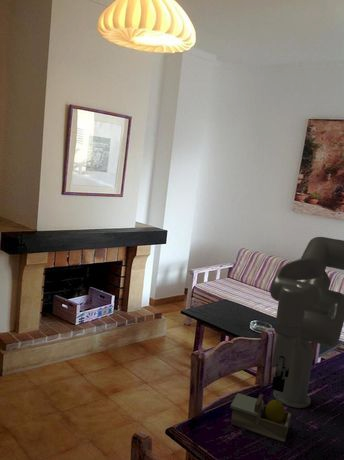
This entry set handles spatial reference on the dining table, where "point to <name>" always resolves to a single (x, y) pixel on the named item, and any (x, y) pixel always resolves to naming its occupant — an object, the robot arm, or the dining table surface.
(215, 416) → the dining table surface
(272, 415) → the lemon
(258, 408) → the cover
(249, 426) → the beige box
